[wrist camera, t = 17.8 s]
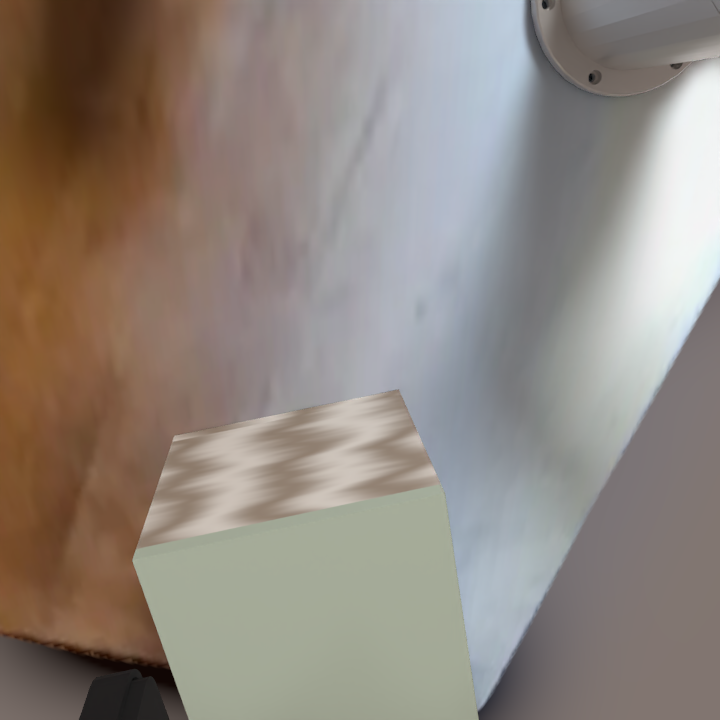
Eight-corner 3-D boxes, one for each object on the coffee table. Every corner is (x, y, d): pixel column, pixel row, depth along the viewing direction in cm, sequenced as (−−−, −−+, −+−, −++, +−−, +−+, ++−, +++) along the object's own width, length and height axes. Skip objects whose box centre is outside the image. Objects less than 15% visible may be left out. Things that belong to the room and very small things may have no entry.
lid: (440, 484, 37) (444, 493, 36) (474, 710, 43) (479, 723, 42) (136, 549, 36) (132, 560, 35) (213, 770, 42) (212, 785, 41)
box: (398, 389, 50) (440, 484, 37) (429, 572, 56) (474, 710, 43) (174, 435, 49) (136, 549, 36) (229, 616, 55) (213, 770, 42)
